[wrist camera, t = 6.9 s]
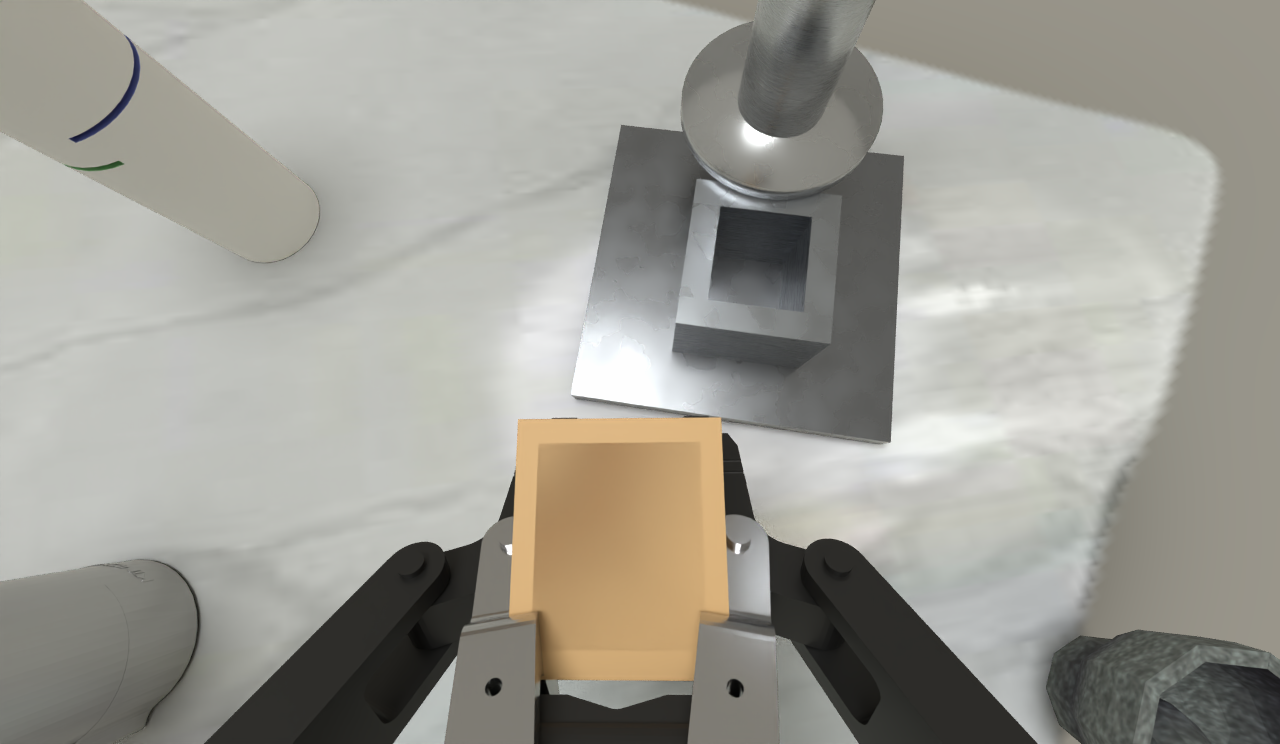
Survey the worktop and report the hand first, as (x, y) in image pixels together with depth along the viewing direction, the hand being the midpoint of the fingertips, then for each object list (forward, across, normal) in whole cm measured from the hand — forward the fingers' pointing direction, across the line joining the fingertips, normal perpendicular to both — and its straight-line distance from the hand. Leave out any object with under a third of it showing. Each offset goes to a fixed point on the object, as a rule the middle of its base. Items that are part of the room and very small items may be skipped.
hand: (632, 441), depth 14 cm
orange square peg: (+3, 0, -6) cm, 7 cm away
